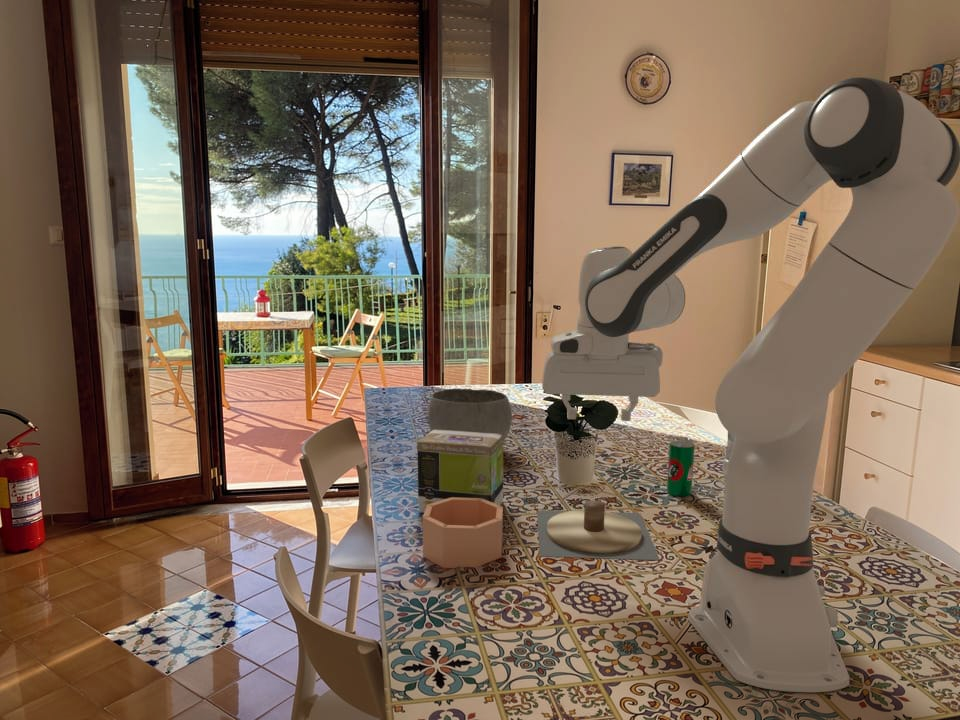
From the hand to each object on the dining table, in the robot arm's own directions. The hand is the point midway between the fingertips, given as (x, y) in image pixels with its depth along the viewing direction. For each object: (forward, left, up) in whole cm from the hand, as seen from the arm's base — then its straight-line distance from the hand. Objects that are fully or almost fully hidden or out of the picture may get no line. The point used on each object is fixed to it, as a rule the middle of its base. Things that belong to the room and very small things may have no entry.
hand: (598, 419), depth 124 cm
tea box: (+11, +25, -22) cm, 35 cm away
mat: (0, 0, -22) cm, 22 cm away
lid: (0, 0, -21) cm, 21 cm away
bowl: (+47, +26, -22) cm, 58 cm away
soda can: (+22, -20, -22) cm, 37 cm away
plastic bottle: (+32, -35, -22) cm, 52 cm away
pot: (-8, +23, -22) cm, 33 cm away
